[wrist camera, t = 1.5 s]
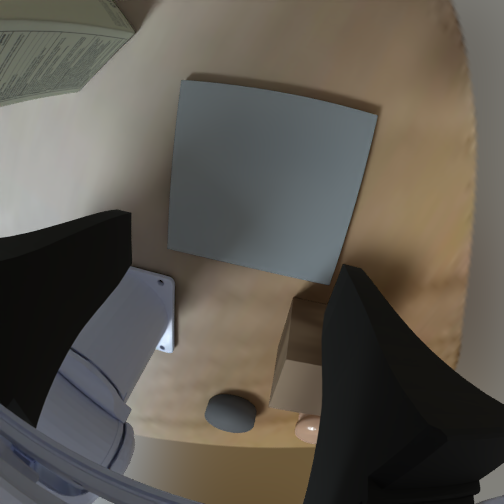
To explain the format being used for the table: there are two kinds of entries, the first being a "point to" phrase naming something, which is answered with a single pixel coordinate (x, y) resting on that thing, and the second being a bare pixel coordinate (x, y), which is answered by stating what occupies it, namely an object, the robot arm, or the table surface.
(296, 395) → the walnut block
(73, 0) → the skincare box
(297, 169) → the slate tile
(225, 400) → the rubber puck
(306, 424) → the pink dome knob
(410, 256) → the table surface
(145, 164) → the table surface
